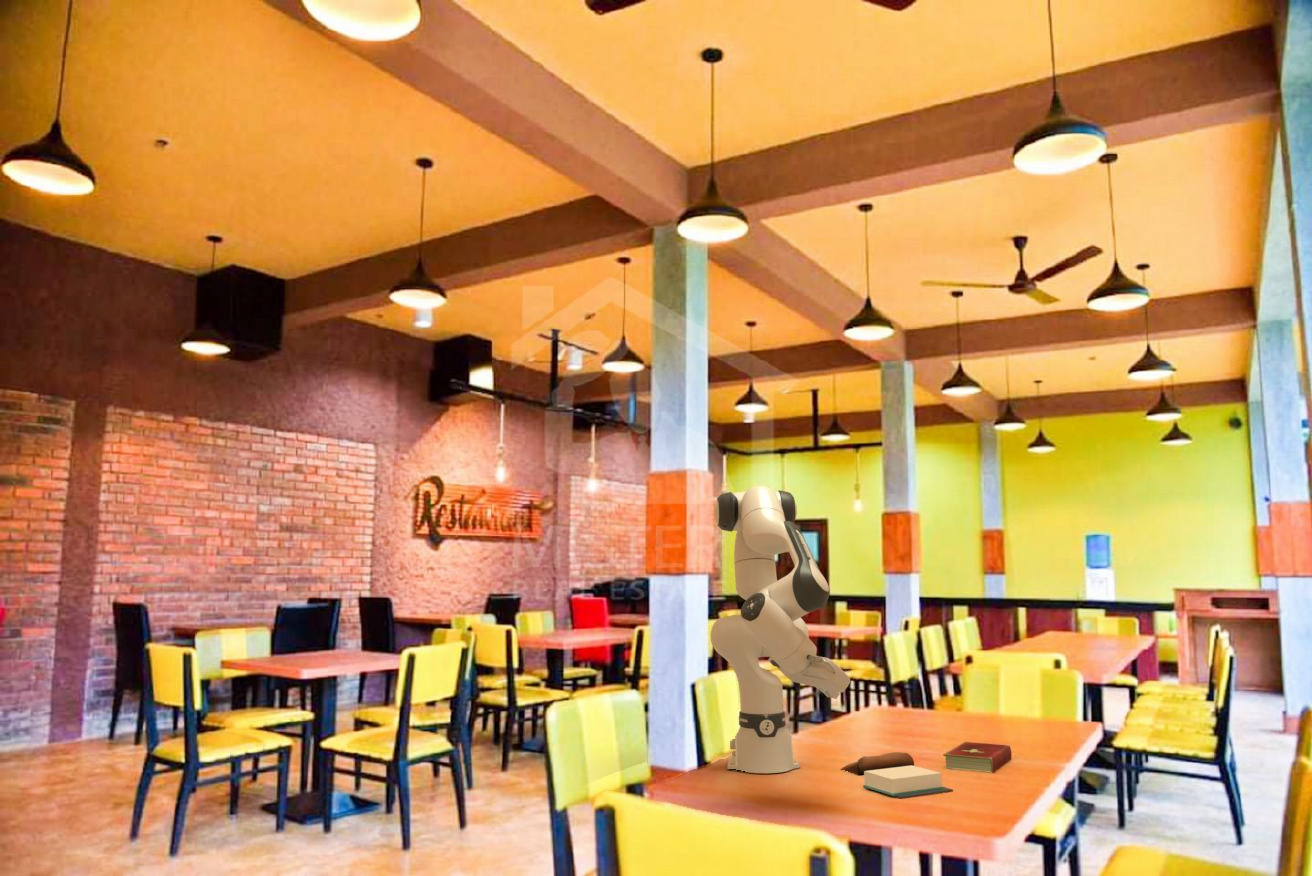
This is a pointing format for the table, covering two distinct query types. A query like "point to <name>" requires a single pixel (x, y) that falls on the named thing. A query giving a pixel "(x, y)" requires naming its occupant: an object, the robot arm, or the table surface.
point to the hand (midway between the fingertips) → (834, 695)
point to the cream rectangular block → (903, 780)
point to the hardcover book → (978, 756)
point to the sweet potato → (879, 762)
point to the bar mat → (920, 793)
